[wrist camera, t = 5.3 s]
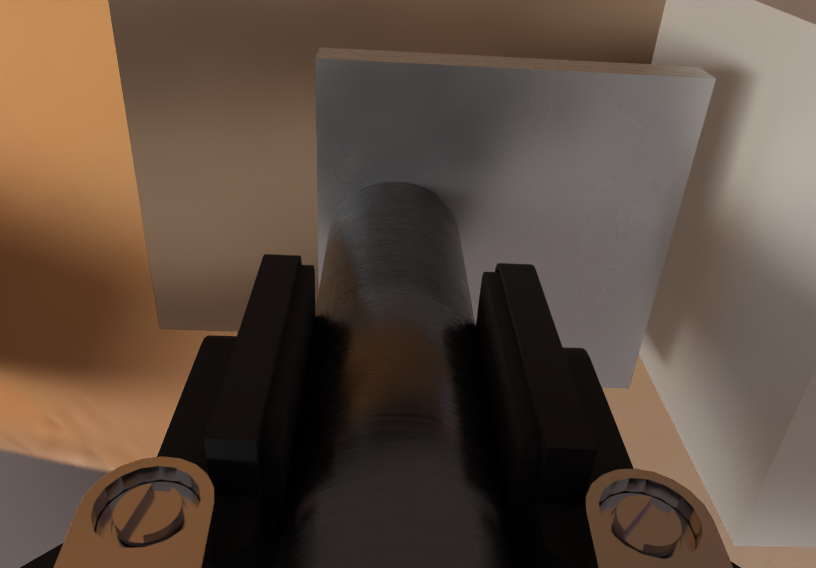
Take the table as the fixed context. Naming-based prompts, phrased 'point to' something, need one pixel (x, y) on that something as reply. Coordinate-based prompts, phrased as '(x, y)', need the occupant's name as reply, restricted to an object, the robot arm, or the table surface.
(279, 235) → the walnut block
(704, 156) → the tile
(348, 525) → the grey plate with peg
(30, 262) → the table surface
